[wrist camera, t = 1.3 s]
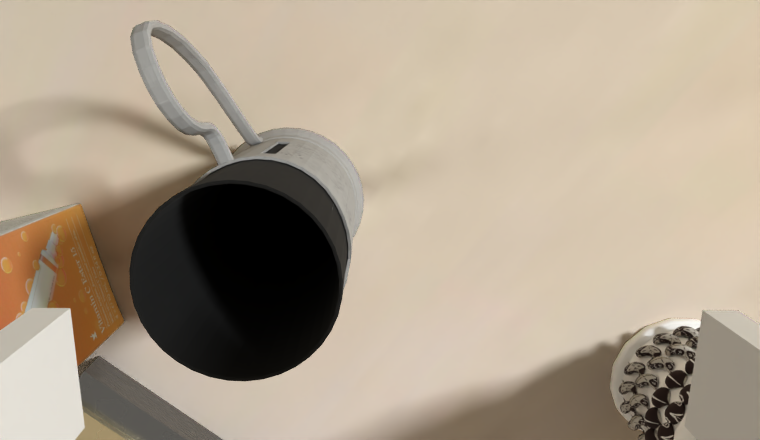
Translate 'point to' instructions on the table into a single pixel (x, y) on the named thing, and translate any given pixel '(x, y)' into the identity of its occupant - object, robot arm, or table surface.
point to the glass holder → (243, 238)
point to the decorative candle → (657, 378)
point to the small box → (57, 274)
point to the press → (130, 410)
